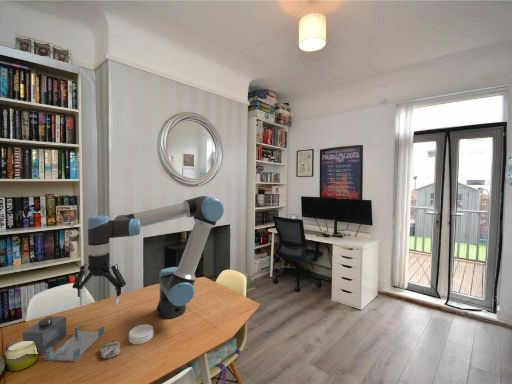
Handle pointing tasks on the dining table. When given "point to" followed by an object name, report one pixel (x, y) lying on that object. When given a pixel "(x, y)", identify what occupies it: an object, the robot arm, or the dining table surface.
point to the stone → (110, 349)
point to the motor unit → (54, 332)
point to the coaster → (140, 334)
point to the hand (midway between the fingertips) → (99, 303)
